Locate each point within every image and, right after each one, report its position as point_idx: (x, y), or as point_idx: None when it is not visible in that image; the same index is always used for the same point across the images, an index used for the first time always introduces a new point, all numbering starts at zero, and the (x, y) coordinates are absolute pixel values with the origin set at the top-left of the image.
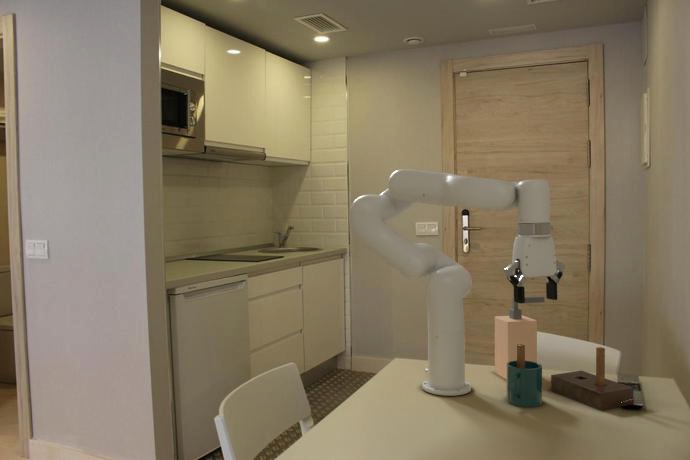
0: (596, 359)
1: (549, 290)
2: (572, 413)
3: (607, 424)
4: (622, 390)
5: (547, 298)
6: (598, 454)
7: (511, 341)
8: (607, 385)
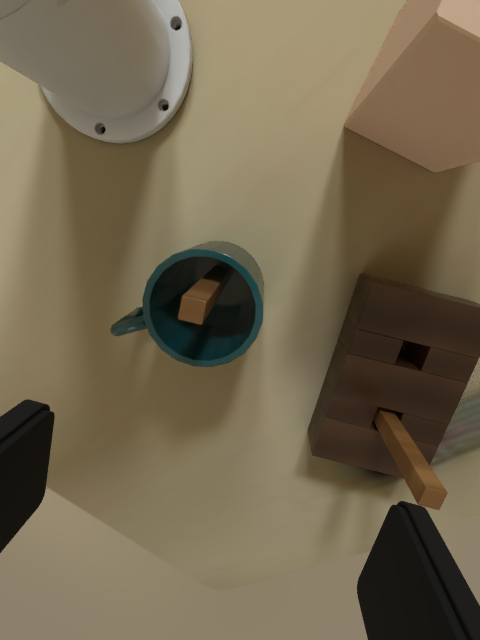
0: (407, 458)
1: (405, 619)
2: (240, 403)
3: (239, 474)
4: (383, 472)
5: (398, 504)
6: (103, 522)
7: (403, 82)
8: None
